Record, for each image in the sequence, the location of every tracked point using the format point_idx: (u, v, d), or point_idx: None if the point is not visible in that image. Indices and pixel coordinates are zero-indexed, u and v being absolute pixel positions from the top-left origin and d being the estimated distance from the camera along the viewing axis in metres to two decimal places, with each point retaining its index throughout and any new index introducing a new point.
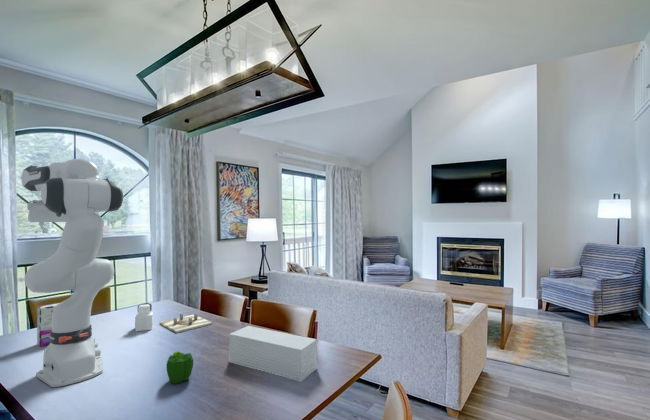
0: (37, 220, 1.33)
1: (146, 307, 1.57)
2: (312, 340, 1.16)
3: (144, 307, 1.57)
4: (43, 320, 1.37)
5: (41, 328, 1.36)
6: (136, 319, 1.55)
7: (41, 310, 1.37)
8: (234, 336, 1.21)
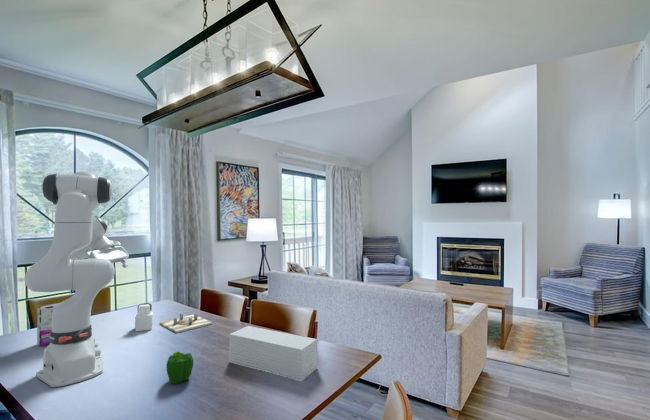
0: None
1: (146, 307, 1.57)
2: (312, 340, 1.16)
3: (144, 307, 1.57)
4: (43, 320, 1.37)
5: (41, 328, 1.36)
6: (136, 319, 1.55)
7: (41, 310, 1.37)
8: (234, 336, 1.21)
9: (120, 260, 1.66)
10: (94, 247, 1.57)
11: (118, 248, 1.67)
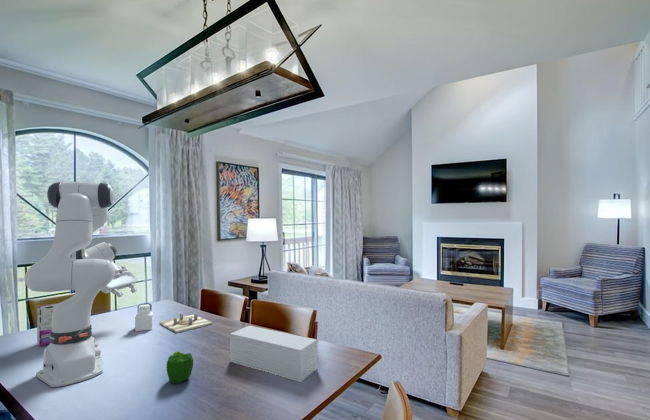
0: (112, 286, 1.54)
1: (146, 307, 1.57)
2: (312, 340, 1.15)
3: (144, 307, 1.57)
4: (43, 320, 1.37)
5: (41, 328, 1.36)
6: (136, 319, 1.55)
7: (41, 310, 1.37)
8: (235, 336, 1.21)
9: (128, 285, 1.66)
10: None
11: (126, 273, 1.68)
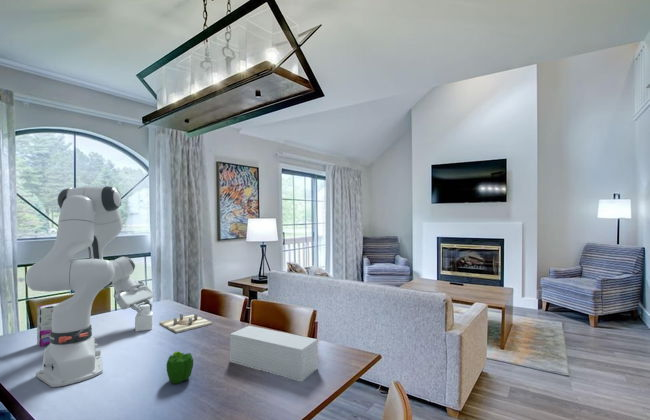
0: (130, 302, 1.52)
1: (146, 307, 1.57)
2: (313, 340, 1.16)
3: (144, 307, 1.57)
4: (43, 320, 1.37)
5: (41, 328, 1.36)
6: (136, 319, 1.55)
7: (41, 310, 1.37)
8: (235, 336, 1.21)
9: (144, 300, 1.64)
10: (120, 289, 1.56)
11: (143, 288, 1.66)
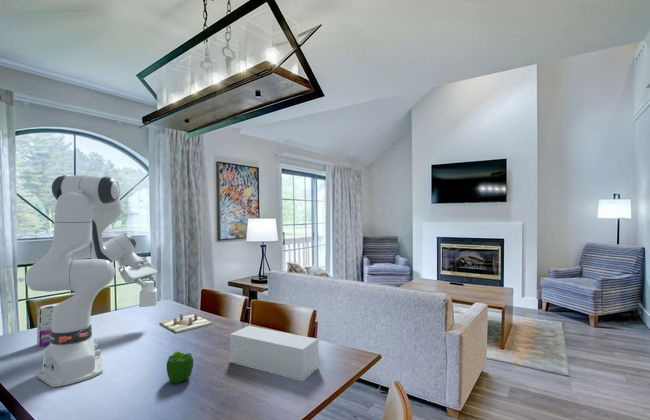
0: (135, 277, 1.53)
1: (150, 283, 1.58)
2: (313, 340, 1.16)
3: (148, 283, 1.58)
4: (43, 320, 1.37)
5: (41, 328, 1.36)
6: (140, 295, 1.56)
7: (41, 310, 1.37)
8: (235, 336, 1.21)
9: (148, 277, 1.65)
10: (125, 264, 1.57)
11: (147, 264, 1.67)
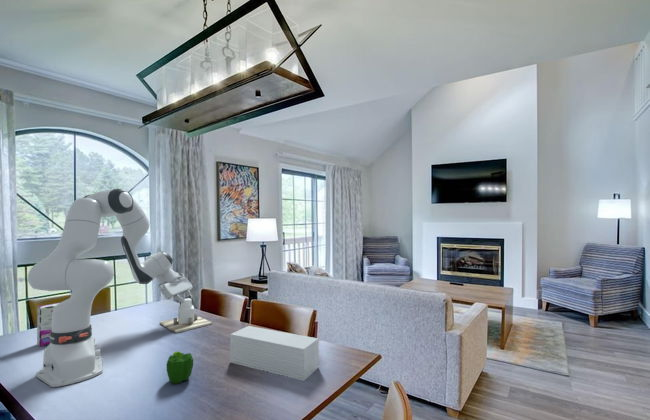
0: (174, 293, 1.60)
1: (188, 301, 1.64)
2: (314, 339, 1.16)
3: (186, 301, 1.64)
4: (43, 320, 1.37)
5: (41, 328, 1.36)
6: (179, 312, 1.62)
7: (41, 310, 1.37)
8: (235, 336, 1.21)
9: (184, 291, 1.71)
10: (164, 280, 1.64)
11: (183, 279, 1.73)
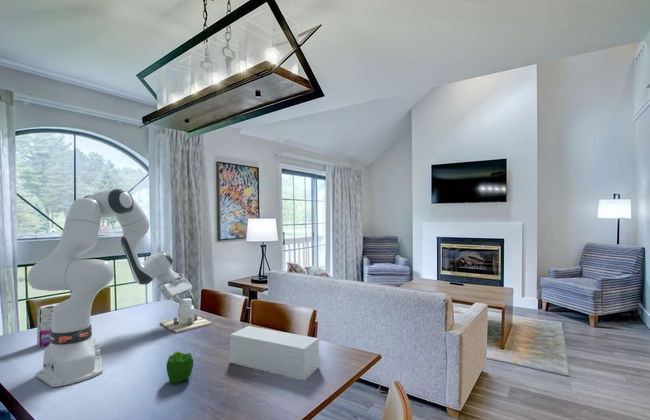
0: (174, 293, 1.59)
1: (188, 301, 1.64)
2: (314, 339, 1.17)
3: (186, 301, 1.64)
4: (43, 320, 1.37)
5: (41, 328, 1.36)
6: (179, 312, 1.62)
7: (41, 310, 1.37)
8: (235, 336, 1.21)
9: (185, 292, 1.72)
10: (164, 281, 1.63)
11: (183, 280, 1.73)
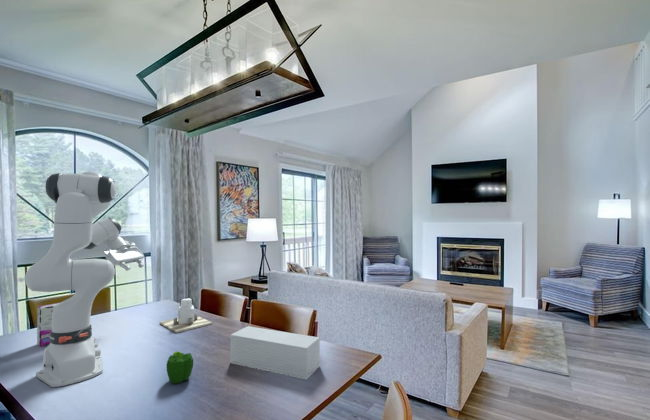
0: (120, 259, 1.55)
1: (188, 301, 1.64)
2: (315, 338, 1.17)
3: (186, 301, 1.64)
4: (43, 320, 1.37)
5: (41, 328, 1.36)
6: (179, 312, 1.62)
7: (41, 310, 1.37)
8: (236, 337, 1.20)
9: (136, 260, 1.67)
10: (111, 247, 1.59)
11: (133, 249, 1.69)
